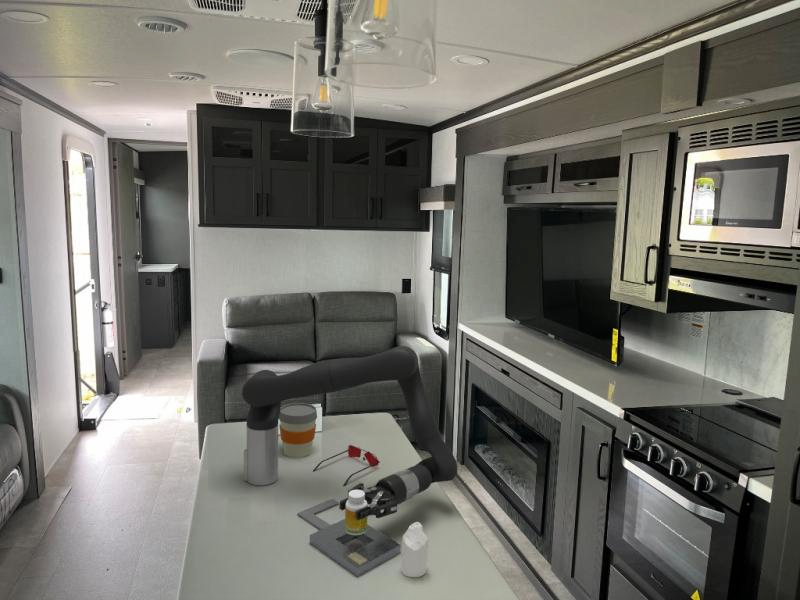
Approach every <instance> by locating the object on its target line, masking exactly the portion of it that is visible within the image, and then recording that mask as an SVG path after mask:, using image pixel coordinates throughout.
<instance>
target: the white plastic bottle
mask: <svg viewBox="0 0 800 600" xmlns="http://www.w3.org/2000/svg"><path fill="white" fill-rule="evenodd" d="M401 540H402V541H401V548H402V549H401V566H400V570H401V573H402V574H403V575H404V576H406V577H409V578H420V577H422V576H424V575H426V572H427V567H428V566H427V565H428V563H427V562H428V547H429V542H428V541H429V539H428V537H427V535H426V533H425V532H424V529H423V525H422V524H421V522H418V521H415V522H412V523H411V524H410V525H409V527H408V529H406V531H405V533H403V535H402V539H401Z"/></svg>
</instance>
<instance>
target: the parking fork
mask: <svg viewBox="0 0 800 600" xmlns="http://www.w3.org/2000/svg"><path fill="white" fill-rule="evenodd" d="M339 503H340V501H339V502H338V501H337V500H335V499H334V498H331V499H328V500H325V501H323V502H320V503H318V504H316V505H313V506H310V507H309V508H306V509H304V510H302V511H299V512H297V513H296V515H297V516H298V517H300V518H301V519H302V520H304V521H306V523H308V524H310V525H311V526H313V527H314V528H316V529H317V530H318V531H319V530H322V529H324V528H326V527H328V526H330V525H331V524H330V523H328V522H327V521H325V520H324V519H322V518H321V517H319V516H318V514H321V513H322V512H325V511H327V510H330V509H332V508H335V507H336V506H337V507H338V506H339Z"/></svg>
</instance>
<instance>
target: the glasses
mask: <svg viewBox="0 0 800 600" xmlns="http://www.w3.org/2000/svg"><path fill="white" fill-rule="evenodd" d="M362 451H364V452H365V453H363V456H364V457H362V460H363V462H365V461H367V463H368V466H366V467H363V468H362V469H360V470H358V471H355V472H354V473H351V474H350V475H349V476H348V478H347V479H346V480H345V482H344V483H343V485H342V486H343V487H345V486H346V485H347V484H348V482H349V480H350V479H351V478H352V477H353V476H354V475H357V474H358V473H361V472H362V471H364V470H367V469H369V468H371V467H372V468H374V467H377V466H379V464H380V463H381V461H380V460H379V459H378V457H377V456H376V454H374V453H372V452H370V451H366V450H364V449H362V448H360V446H358V447H357V446H354V445H351V444H349V445H348V447H347V449H346V450H344V451H342V452H339V453H337V454H335V455H333V456H330V457H328V458H326V459H323V460H322V461H319V463H318V464H317V465H316V466H315V468H314V469H313V470H312V472H313V471H314V472H315V471H317V470H318V468H319V466H321V464H323V463H324V462H326V461H328V460H331V459H333V458H335V457H338V456H340V455H342V454H344V453H347V454H348V456H349V458H357V459H360V458H361V454H362Z"/></svg>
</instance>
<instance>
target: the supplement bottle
mask: <svg viewBox="0 0 800 600" xmlns="http://www.w3.org/2000/svg"><path fill="white" fill-rule="evenodd" d="M347 498H348V499H349V500H347V502H346V506H345V509H344V513H345V518H344V519H345V530H346V532H347V533H348V534H350V535H361V534H364V533H365V532H366V531H367V524H368V517H365V518H363V519H360V520H357V519H355V513H356V511H357V510H359V509H361V508H364V507H366V506H368V507H369V504H367V501H366V500H365V493H364V492H363V491H362V490H352V491H350V492H349V494H348V493H347Z"/></svg>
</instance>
